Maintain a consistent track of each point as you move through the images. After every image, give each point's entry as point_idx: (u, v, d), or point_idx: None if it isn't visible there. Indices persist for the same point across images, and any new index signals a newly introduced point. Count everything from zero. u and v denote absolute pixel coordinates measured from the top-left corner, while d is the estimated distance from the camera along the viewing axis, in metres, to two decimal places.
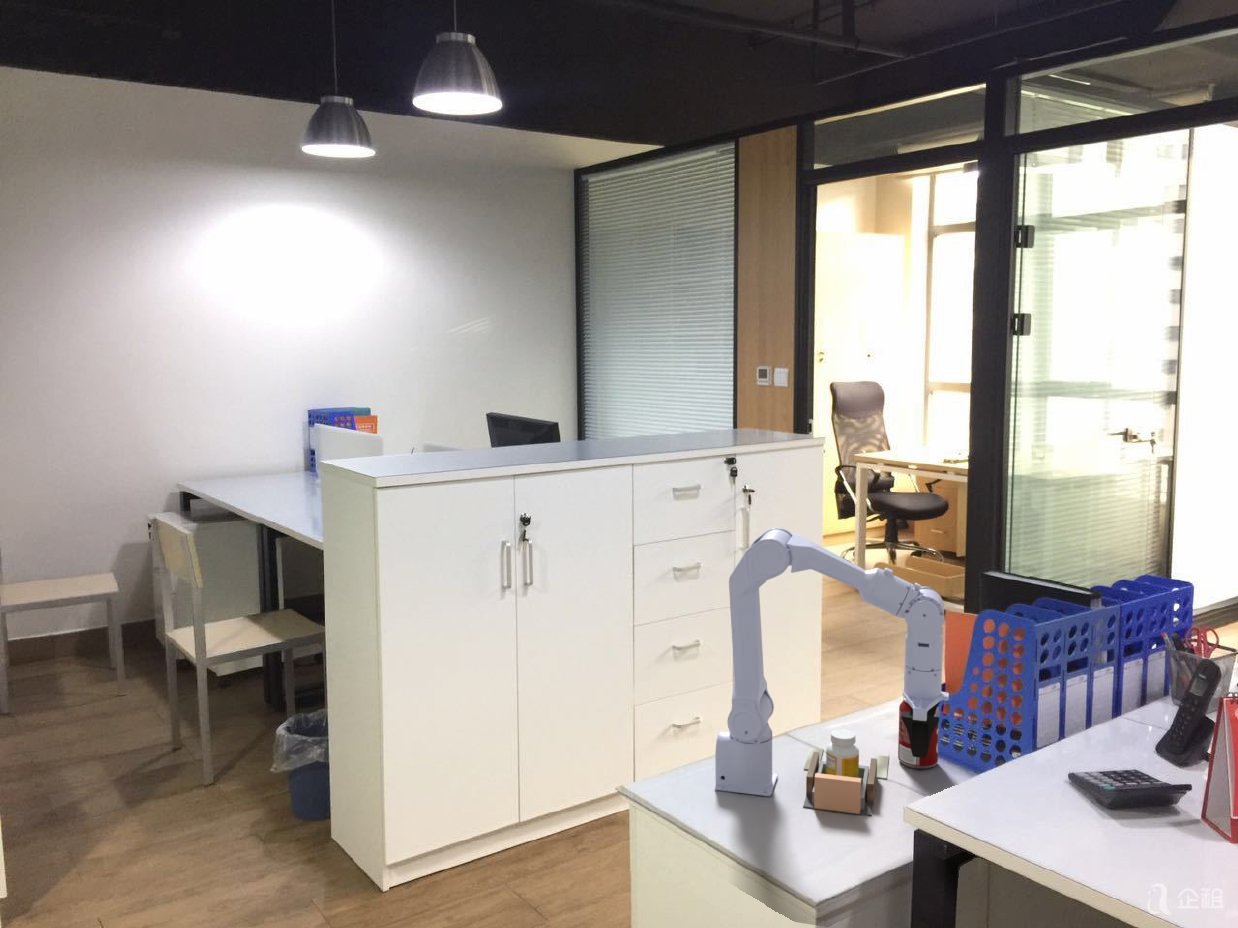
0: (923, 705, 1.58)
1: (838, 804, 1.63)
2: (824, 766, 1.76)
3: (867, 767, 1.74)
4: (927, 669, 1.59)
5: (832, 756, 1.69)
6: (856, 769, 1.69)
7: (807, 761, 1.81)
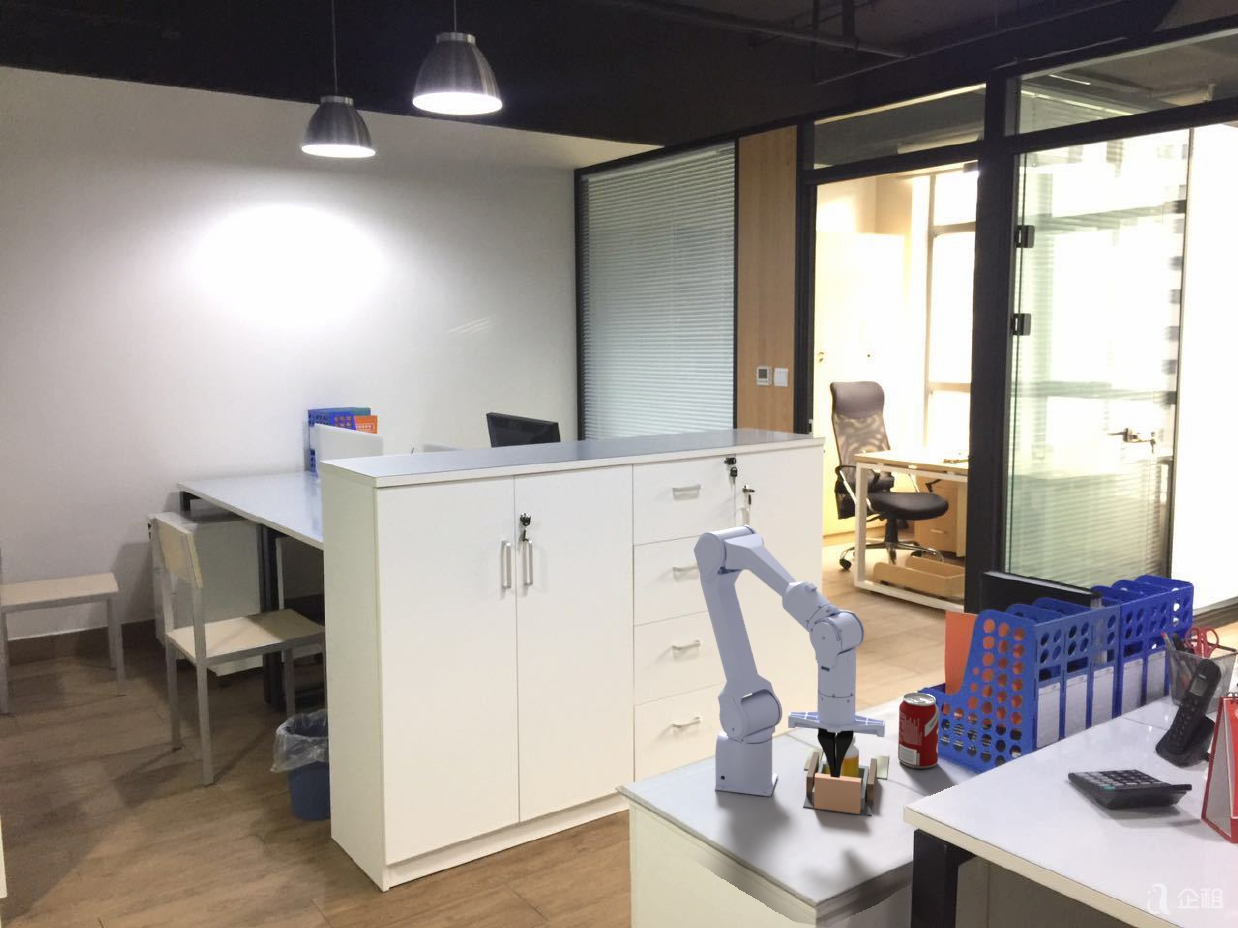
0: (803, 718, 1.58)
1: (838, 804, 1.63)
2: (824, 766, 1.76)
3: (867, 767, 1.74)
4: (828, 694, 1.54)
5: None
6: (856, 769, 1.69)
7: (807, 761, 1.81)
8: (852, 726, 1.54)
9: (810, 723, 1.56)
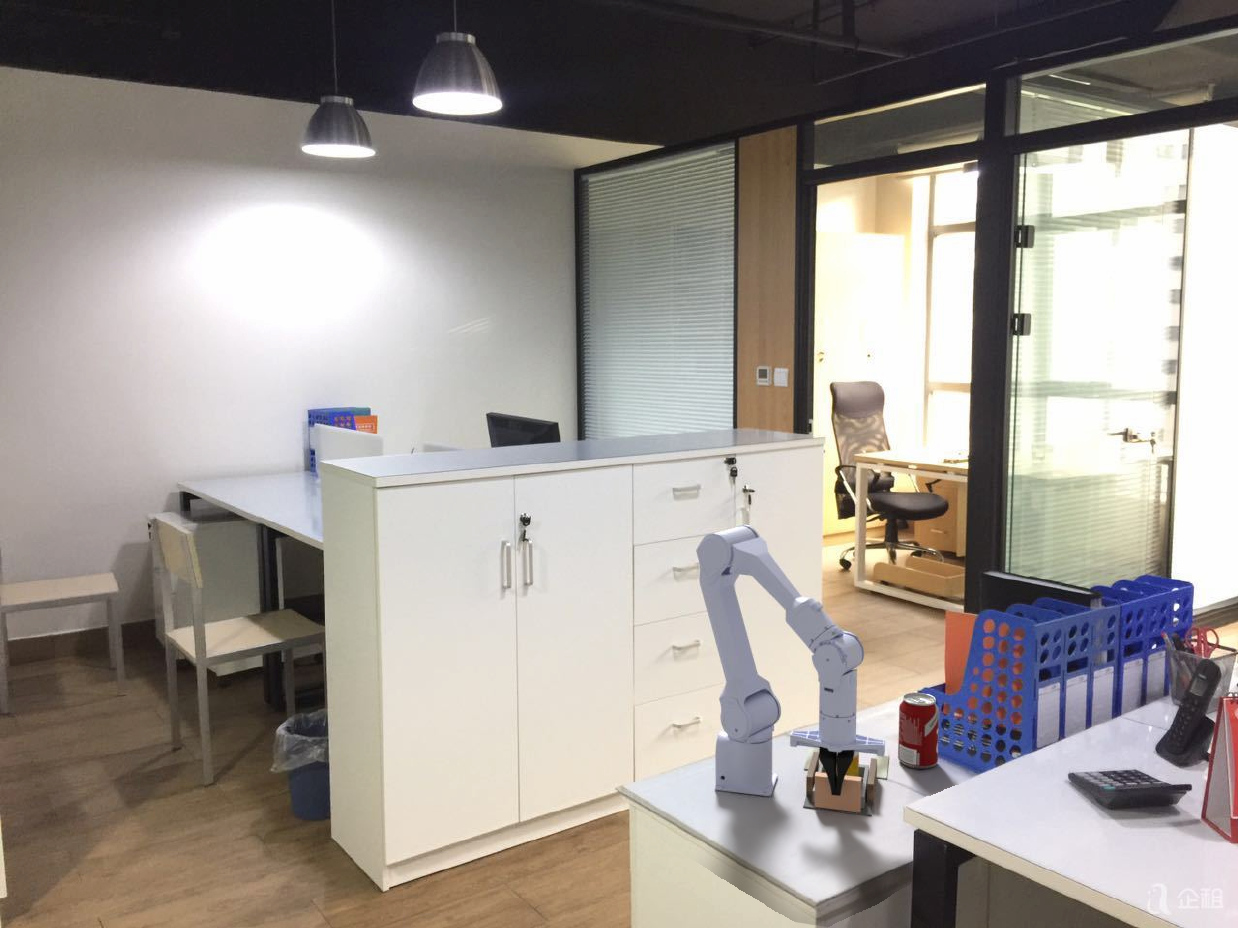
0: (805, 737, 1.61)
1: (838, 803, 1.63)
2: None
3: (867, 766, 1.74)
4: (832, 715, 1.57)
5: None
6: (856, 769, 1.69)
7: (807, 761, 1.81)
8: (853, 746, 1.57)
9: (812, 742, 1.60)
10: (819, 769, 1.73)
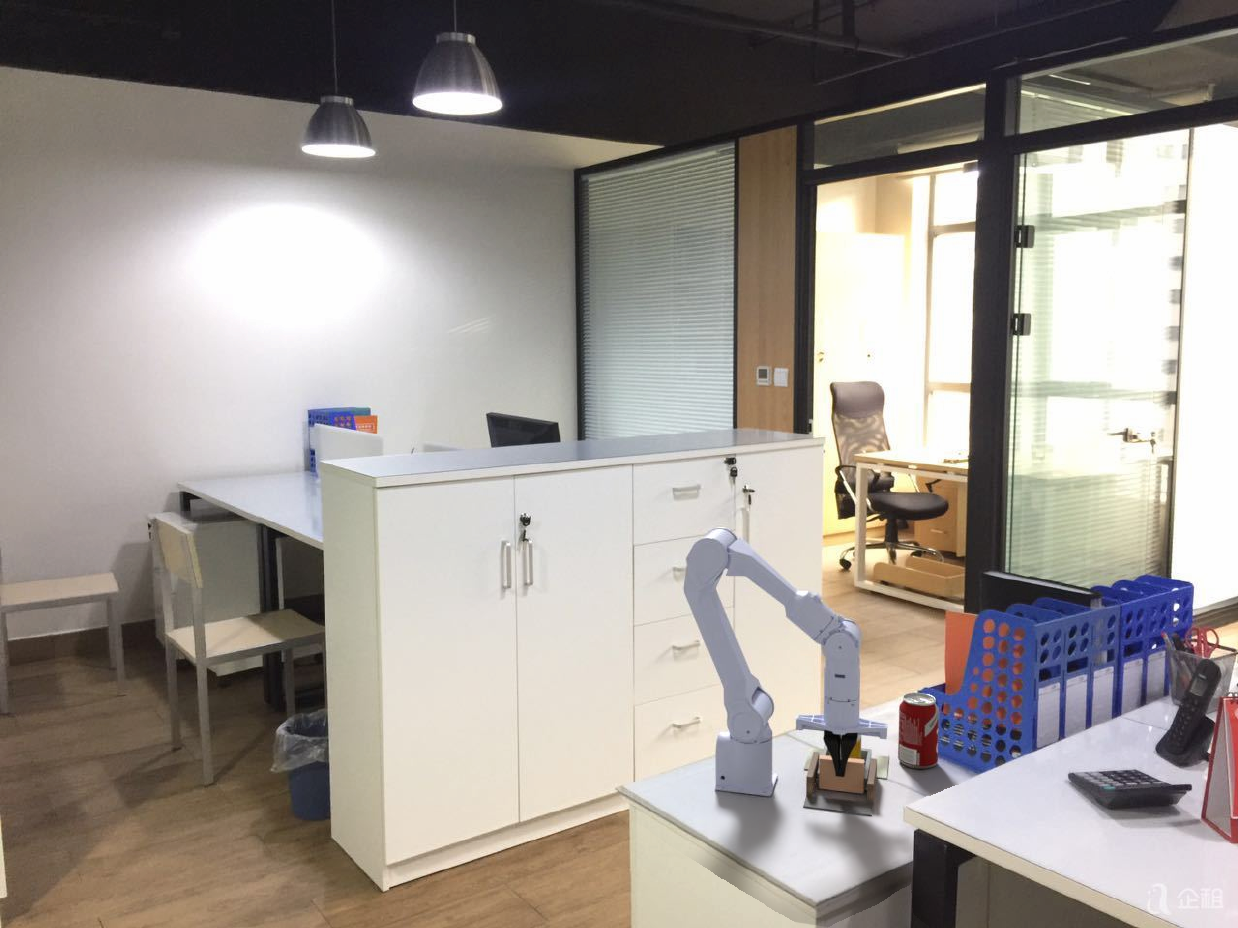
0: (810, 721, 1.68)
1: (842, 784, 1.70)
2: None
3: (870, 750, 1.81)
4: (843, 699, 1.63)
5: None
6: (859, 753, 1.75)
7: (807, 761, 1.81)
8: (856, 729, 1.64)
9: (816, 725, 1.66)
10: (823, 753, 1.80)
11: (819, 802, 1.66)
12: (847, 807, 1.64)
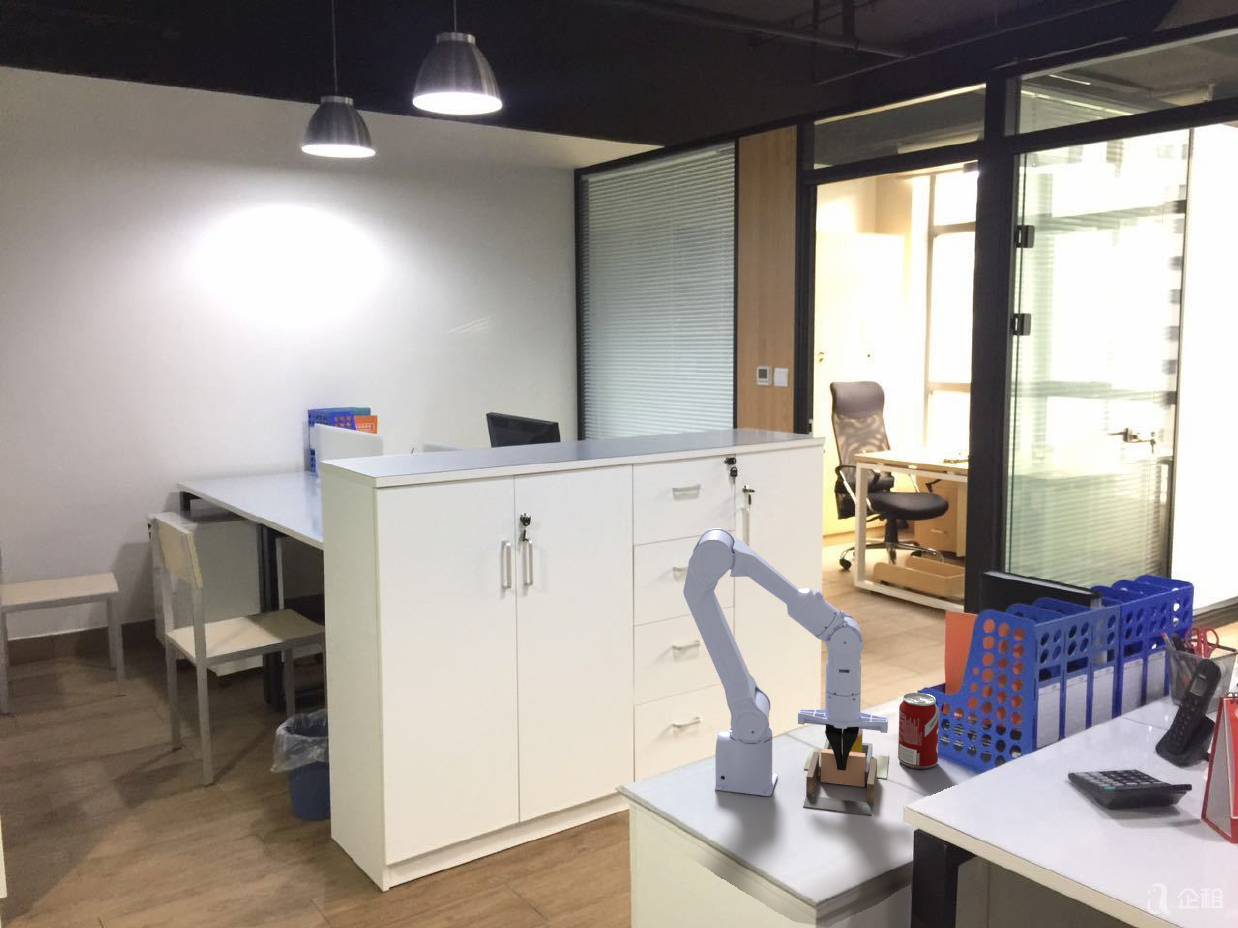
0: (812, 715, 1.70)
1: (843, 778, 1.72)
2: None
3: (871, 744, 1.83)
4: (848, 694, 1.65)
5: None
6: (860, 747, 1.78)
7: (807, 761, 1.81)
8: (857, 723, 1.66)
9: (818, 720, 1.68)
10: (825, 747, 1.82)
11: (819, 802, 1.66)
12: (847, 807, 1.64)
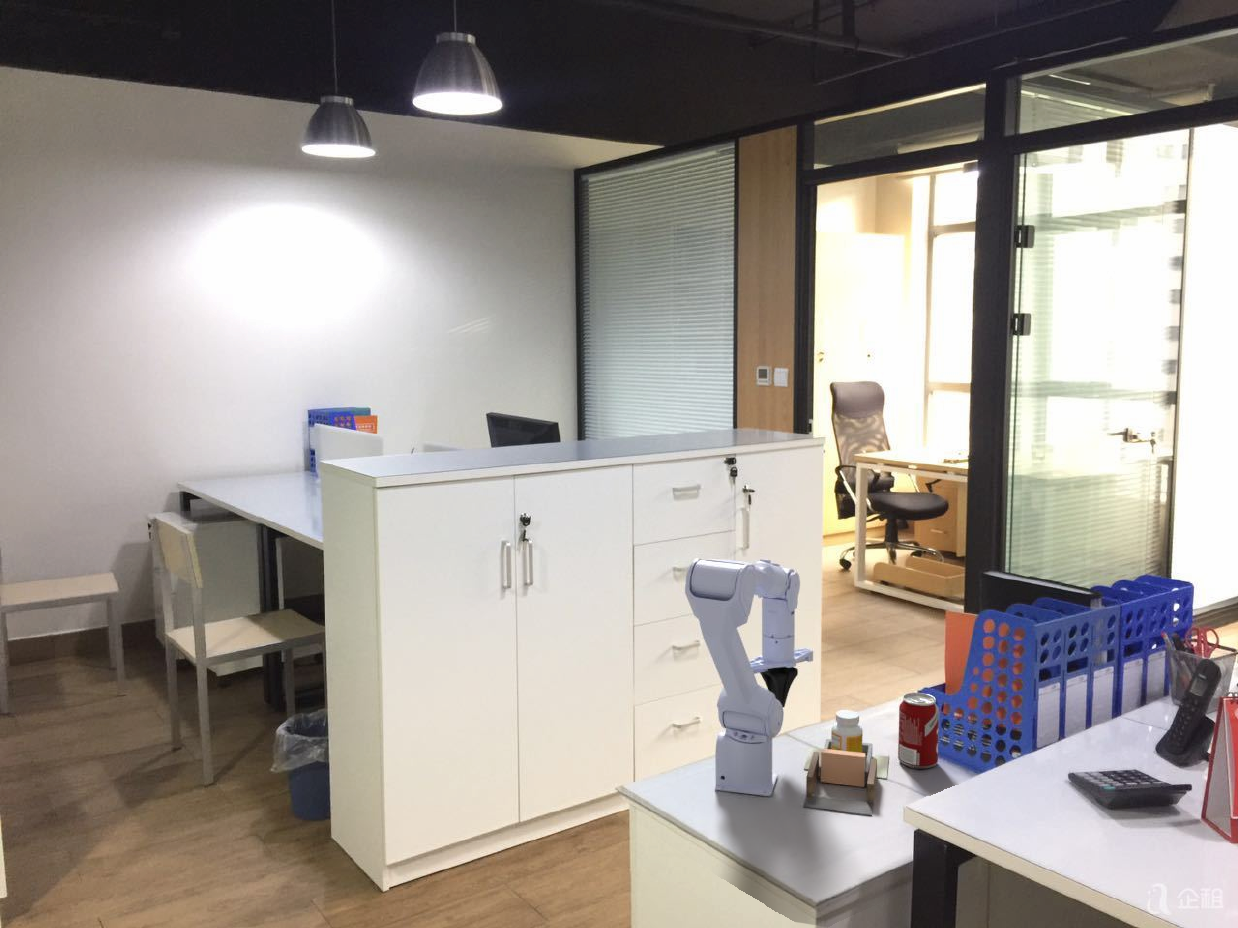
0: (757, 664, 1.79)
1: (843, 778, 1.72)
2: (830, 743, 1.85)
3: (871, 744, 1.83)
4: (794, 632, 1.80)
5: (837, 735, 1.77)
6: (860, 747, 1.78)
7: (807, 761, 1.81)
8: (798, 658, 1.81)
9: (768, 666, 1.78)
10: (825, 747, 1.82)
11: (819, 802, 1.66)
12: (847, 807, 1.64)
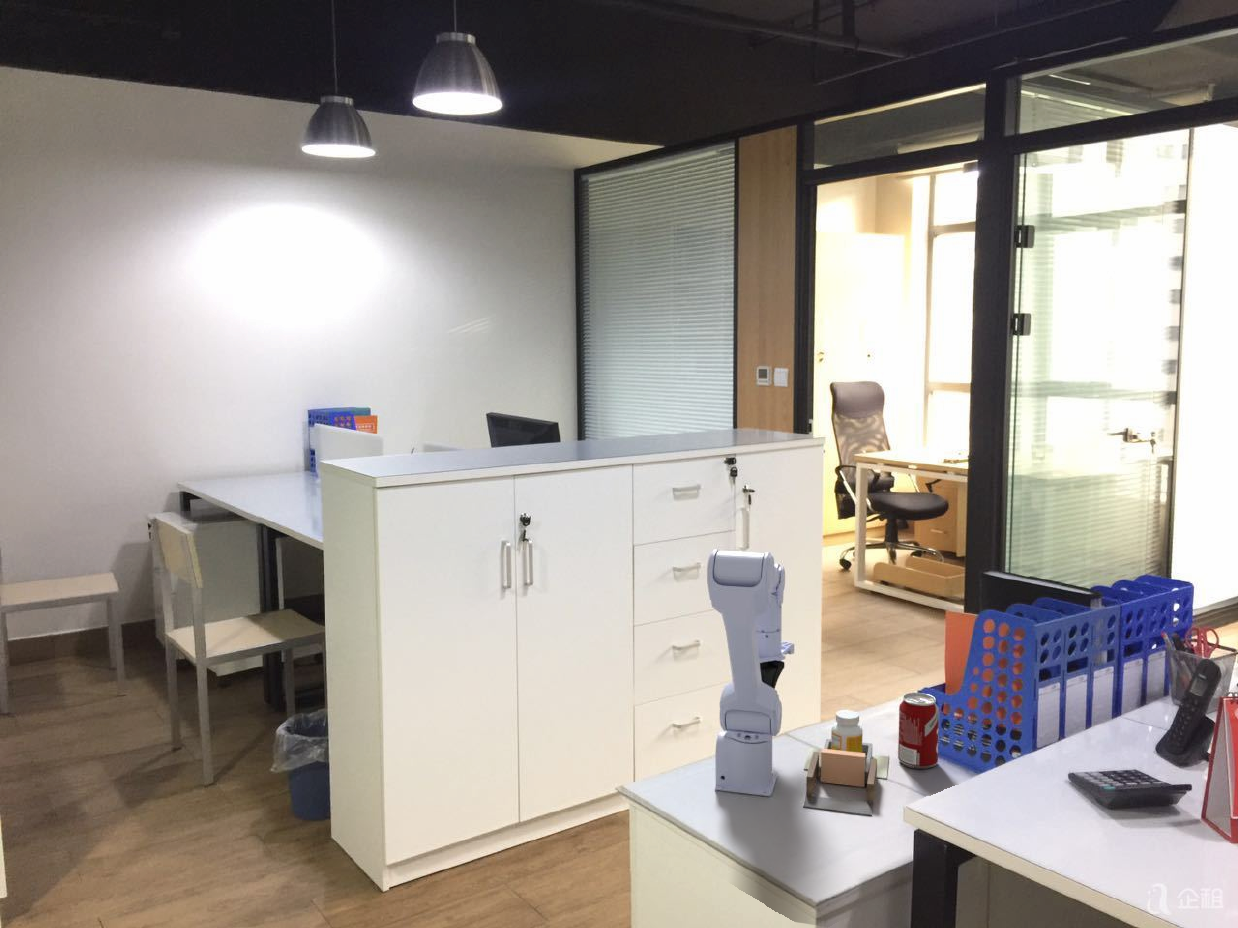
0: None
1: (843, 778, 1.72)
2: (830, 743, 1.85)
3: (871, 744, 1.83)
4: None
5: (837, 735, 1.77)
6: (860, 747, 1.78)
7: (807, 761, 1.81)
8: (784, 651, 1.85)
9: (760, 661, 1.81)
10: (825, 747, 1.82)
11: (819, 802, 1.66)
12: (847, 807, 1.64)
